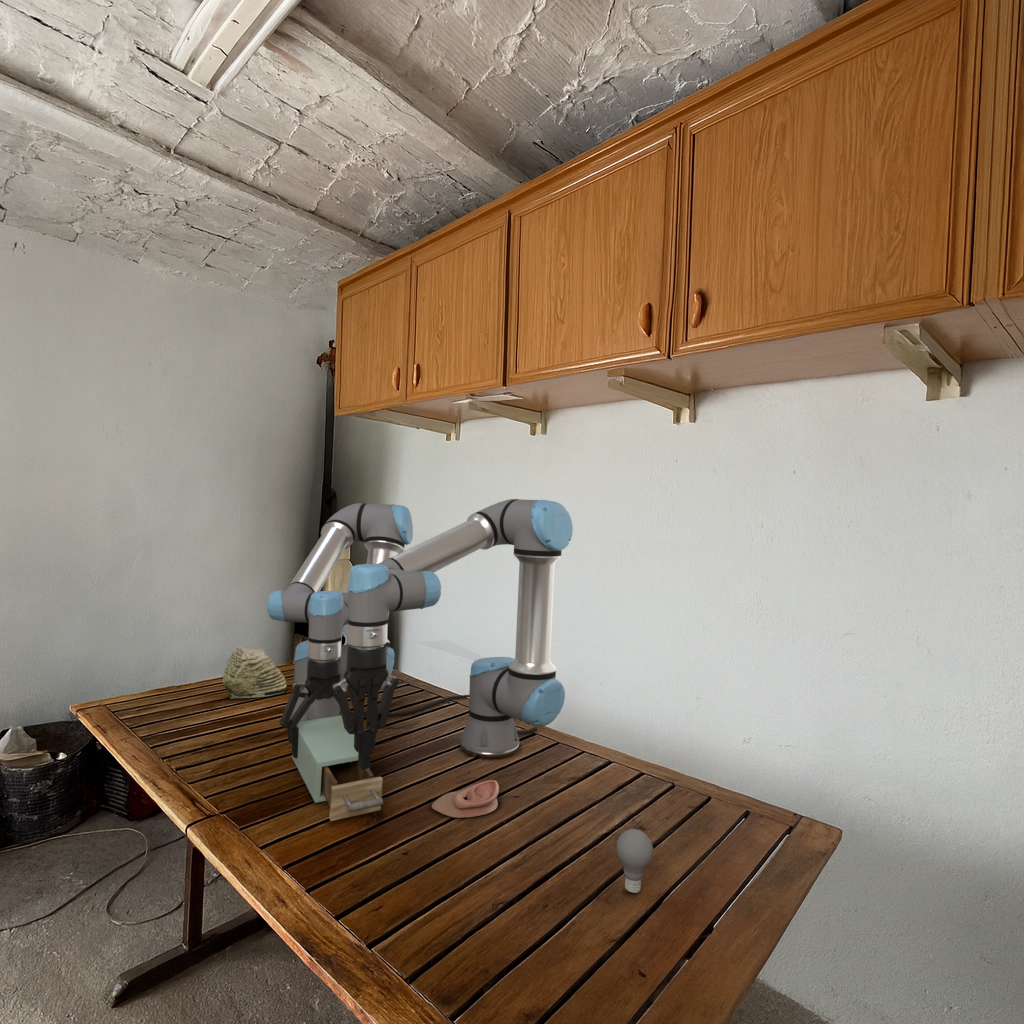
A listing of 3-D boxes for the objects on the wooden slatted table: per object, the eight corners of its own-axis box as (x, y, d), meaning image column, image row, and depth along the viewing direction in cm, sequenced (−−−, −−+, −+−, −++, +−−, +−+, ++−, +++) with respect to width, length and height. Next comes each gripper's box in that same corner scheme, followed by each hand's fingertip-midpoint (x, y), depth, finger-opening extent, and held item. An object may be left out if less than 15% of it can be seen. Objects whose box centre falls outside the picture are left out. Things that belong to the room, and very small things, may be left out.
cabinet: (368, 791, 136) (370, 753, 135) (315, 803, 130) (317, 763, 130) (339, 749, 155) (341, 715, 154) (291, 757, 149) (293, 722, 148)
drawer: (390, 823, 123) (392, 791, 123) (338, 836, 118) (340, 802, 117) (350, 765, 145) (352, 737, 145) (305, 773, 140) (307, 745, 139)
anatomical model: (427, 794, 128) (444, 771, 139) (426, 813, 128) (443, 788, 139) (490, 803, 125) (503, 779, 137) (489, 823, 126) (502, 797, 137)
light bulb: (610, 879, 108) (613, 822, 108) (644, 879, 109) (647, 822, 109) (619, 902, 102) (622, 840, 102) (655, 901, 103) (658, 840, 103)
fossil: (218, 695, 195) (220, 647, 195) (278, 685, 208) (279, 640, 207) (228, 703, 189) (230, 653, 188) (289, 692, 201) (290, 645, 201)
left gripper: (274, 667, 138) (270, 766, 139) (378, 657, 150) (375, 748, 151) (267, 659, 145) (264, 753, 145) (368, 650, 157) (365, 737, 157)
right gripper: (339, 653, 115) (335, 781, 116) (406, 646, 122) (403, 767, 123) (327, 644, 122) (324, 765, 122) (392, 638, 128) (389, 753, 129)
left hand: (321, 751), depth 148 cm, fingers closed on cabinet, 11 cm apart
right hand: (364, 766), depth 122 cm, fingers closed
